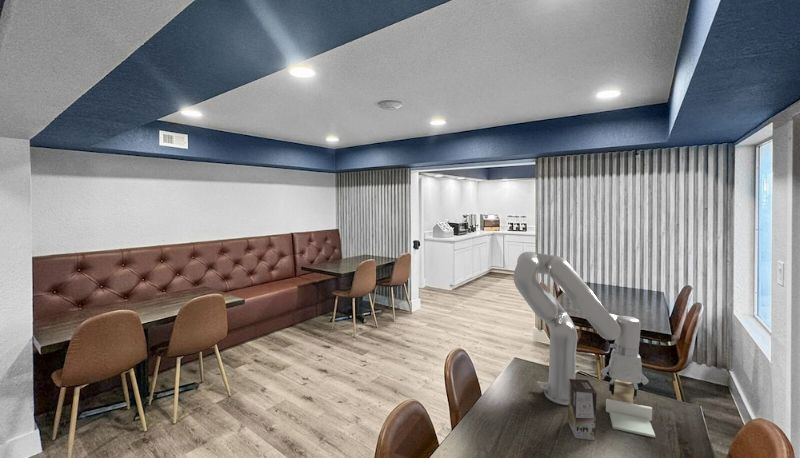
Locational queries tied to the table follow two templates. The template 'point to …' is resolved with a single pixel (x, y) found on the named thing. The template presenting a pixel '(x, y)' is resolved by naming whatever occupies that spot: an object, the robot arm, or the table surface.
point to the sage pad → (632, 424)
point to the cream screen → (629, 409)
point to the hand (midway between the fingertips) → (622, 394)
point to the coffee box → (582, 409)
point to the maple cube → (623, 391)
